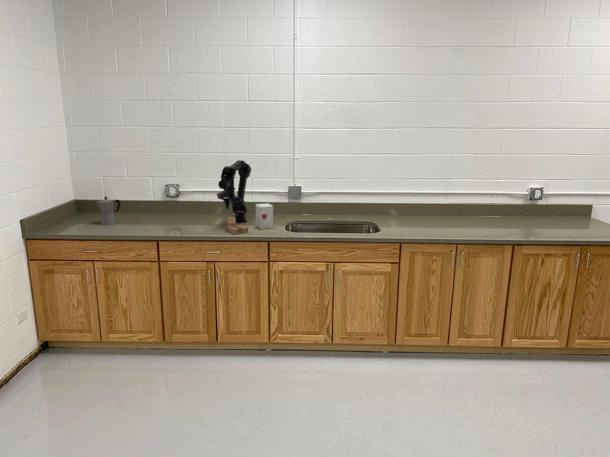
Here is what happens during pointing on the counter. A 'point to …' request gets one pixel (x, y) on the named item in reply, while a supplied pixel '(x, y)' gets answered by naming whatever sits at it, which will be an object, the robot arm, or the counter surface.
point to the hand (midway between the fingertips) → (230, 210)
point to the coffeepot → (107, 210)
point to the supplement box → (264, 216)
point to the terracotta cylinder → (231, 221)
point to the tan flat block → (237, 229)
